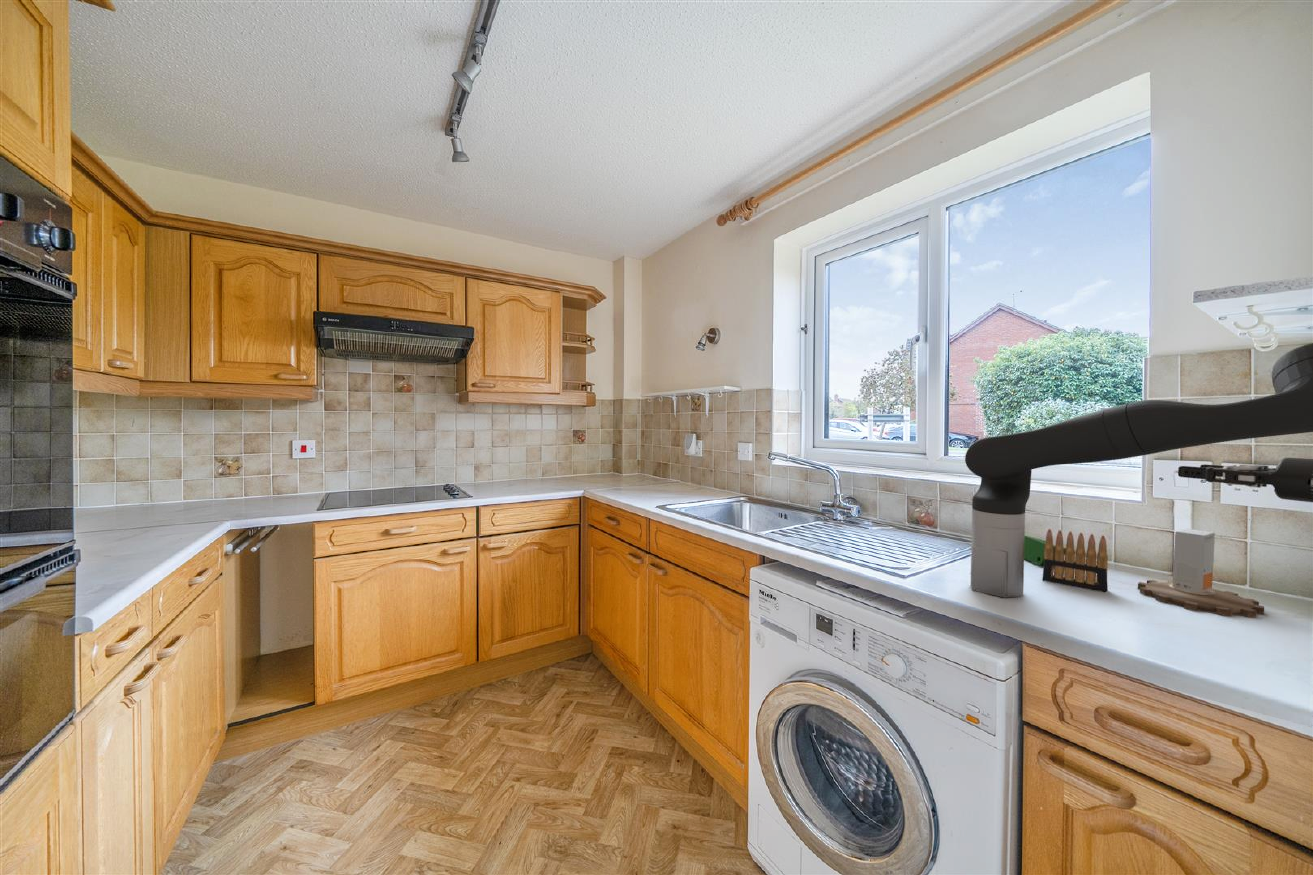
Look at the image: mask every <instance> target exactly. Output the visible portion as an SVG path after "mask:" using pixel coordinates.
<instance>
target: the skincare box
mask: <svg viewBox="0 0 1313 875" xmlns="http://www.w3.org/2000/svg"><path fill="white" fill-rule="evenodd" d="M1215 536H1216V533H1215V532H1212V531H1204V530H1200V529H1192V528H1184V529H1180V530H1176V531H1174V549H1173V553H1174V554H1173V570H1172V581H1173V587H1174V588H1178V589H1182V590H1187V591H1192V592H1196V593H1203V592H1205V591H1208V590H1211V589H1213V581H1214V580H1213V579H1214V576H1213V575H1214V558H1215V556H1214V555H1215V538H1216V537H1215Z"/></svg>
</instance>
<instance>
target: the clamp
mask: <svg viewBox="0 0 1313 875" xmlns="http://www.w3.org/2000/svg"><path fill="white" fill-rule="evenodd" d="M1045 543H1046V540H1044V539H1041V538H1037V537H1036V538H1035V537H1033V536H1030V535H1029V536H1028V535H1025V539H1024V560H1027V561H1029V562H1031V563H1033V564H1036V566H1037V565H1038V566H1042V567H1044V547H1045ZM1055 546H1056V544H1055V545H1054V544H1053V547H1054V553H1055ZM1065 549H1066V547H1064V556H1065Z"/></svg>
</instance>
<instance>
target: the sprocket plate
mask: <svg viewBox="0 0 1313 875" xmlns="http://www.w3.org/2000/svg"><path fill="white" fill-rule="evenodd" d="M1137 590H1139V594H1141V595H1142V596H1147V597H1149V596H1150V597H1153V598H1155V601H1156V602H1157V601H1158V602H1160V603H1162V604H1173V605H1176V606H1180V607H1183V608H1184V609H1186V610H1190V611H1194V612H1195V611H1196V612H1198V611H1203V612H1207V613H1208V612H1209V613H1214V612H1215V613H1214V614H1217V615H1218V616H1225V617H1231V616H1232V615H1237V616H1238V615H1239V616H1244V617H1246V618H1257V614H1259V615H1264V614H1265V606H1263V605H1260V602H1259V601H1257V600H1256V599H1253V598H1245V597H1242V596H1239V594H1238V593H1236V592H1232V591H1228V590H1226V591H1223V590H1219V589H1214V588H1212V589H1211V590H1208V591H1205V592H1203V593H1196V592H1192V591H1187V590H1182V589H1178V588H1174V587H1173V580H1168V581H1158V580H1153V579H1152V580H1151V579H1150V580H1149V579H1148V580H1146V582H1142V581H1139V582H1138V583H1137Z"/></svg>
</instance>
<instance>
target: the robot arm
mask: <svg viewBox="0 0 1313 875" xmlns="http://www.w3.org/2000/svg"><path fill="white" fill-rule="evenodd" d="M1271 380H1272V381H1271V382H1272V387H1273V388H1274V392H1275V393H1274V394H1269V395H1266V396H1263V397H1257V398H1253V399H1252V398H1251V399H1248V400H1242V401H1236V402H1229V403H1217V404H1210V403H1209V404H1206V403H1205V404H1204V403H1203V404H1201V403H1200V404H1199V403H1193V402H1183V401H1175V400H1163V399H1146V400H1145V399H1144V400H1138V401H1132V402H1129V403H1124V404H1119V405H1116V406H1112V407H1108V408H1104V409H1101V410H1100V409H1099V410H1097V411H1093V412H1089V413H1085V414H1082V415H1078V416H1075V417H1072V418H1069V419H1065V420H1063V421H1059V422H1057V423H1056V422H1055V423H1053V424H1051V425H1048V426H1045V427H1041V428H1037V429H1033V430H1027V431H1022V432H1015V433H1008V434H1002V435H995V436H994V435H992V436H991V435H990V436H985V437H981V438H980V439H977V440H976V441H974V442H972V444H971V445H969V447H968V449H967V450H966V453H965V457H964V462H965V465H966V467H967V469H968V470H969V471H970V472H971V473H972V474H973V475H975V476H977V477H979V478H981V479H980V485H979V488H978V490H977V492H975V493H974V494H973V496H972V500H971V506H972V508H971V549H970V551H971V552H970V553H971V554H970V586H971V590H973V591H977V592H980V593H985V594H988V595H993V596H997V597H998V598H1000V597H1001V598H1003V599H1006V598H1017V597H1022V596H1023V595H1024V585H1025V584H1024V581H1025V579H1024V578H1025V575H1024V574H1025V573H1024V572H1025V559H1024V539H1025V536H1026V535H1025V533H1026V506H1027V503H1028V501H1029V498H1030V493H1031V484H1032V483H1031V482H1032V470H1035V469H1039V468H1043V467H1051V466H1059V465H1061V466H1062V465H1076V464H1086V463H1087V464H1088V463H1098V462H1108V461H1116V460H1123V459H1130V458H1136V457H1142V456H1148V455H1153V454H1157V453H1163V452H1168V451H1174V450H1178V449H1185V448H1192V447H1199V446H1206V445H1212V444H1219V443H1225V442H1232V441H1241V440H1249V439H1256V438H1257V439H1258V438H1267V437H1268V438H1269V437H1279V436H1287V435H1297V434H1307V433H1313V343H1307V344H1304V345H1301V346H1299V347H1296V348H1293V349H1291V350H1289V351H1287V352H1286V353H1284V354H1283V355H1281V356H1280V357H1279V358H1278V359H1277V360H1276V361H1275V362H1274V365H1273V366H1272V370H1271ZM1275 467H1276V468H1275ZM1275 467H1269V465H1265V464H1264V465H1263V464H1254V465H1252V464H1239V465H1236V464H1234V465H1217V464H1216V465H1215V464H1207V463H1206V464H1201V465H1200V466H1189V465H1188V466H1187V465H1181V466H1179V467H1178V471H1177V476H1178V477H1180V478H1188V479H1196V480H1197V479H1198V480H1199V479H1200V480H1205V482H1208V483H1222V484H1226V485H1231V486H1232V485H1233V486H1245V487H1249V488H1261V487H1263V488H1265V487H1266V488H1267V487H1268V485H1271V486H1272V487H1273V488H1274V493H1275V495H1276V497H1277V498H1279V499H1281V500H1287V501H1288V500H1289V501H1294V502H1295V501H1296V502H1305V503H1313V458H1302V457H1301V458H1300V457H1284V458H1282V459H1280V460H1279V462H1278V463H1277V464H1276V466H1275ZM1217 477H1218V478H1217ZM1219 477H1220V478H1219Z"/></svg>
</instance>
